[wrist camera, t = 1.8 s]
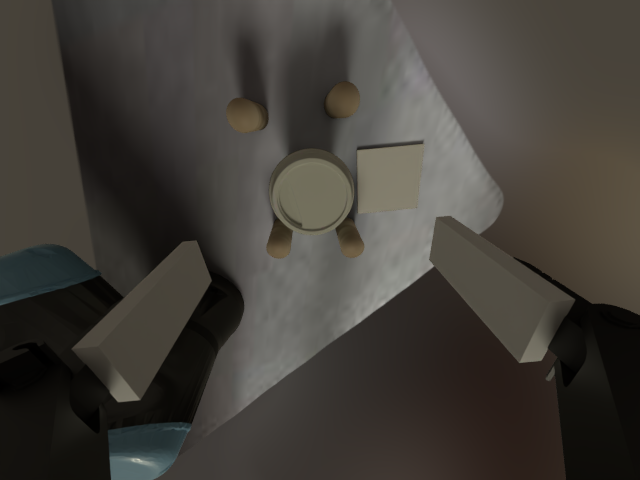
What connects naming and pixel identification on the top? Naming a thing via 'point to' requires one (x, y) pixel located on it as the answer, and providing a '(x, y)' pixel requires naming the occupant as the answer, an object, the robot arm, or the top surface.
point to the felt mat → (388, 178)
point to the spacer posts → (256, 118)
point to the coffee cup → (311, 191)
